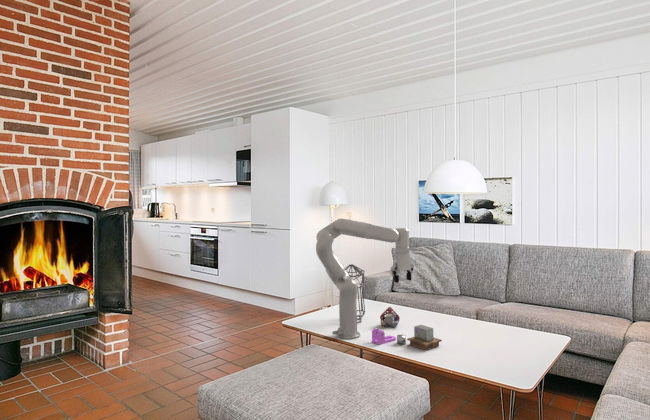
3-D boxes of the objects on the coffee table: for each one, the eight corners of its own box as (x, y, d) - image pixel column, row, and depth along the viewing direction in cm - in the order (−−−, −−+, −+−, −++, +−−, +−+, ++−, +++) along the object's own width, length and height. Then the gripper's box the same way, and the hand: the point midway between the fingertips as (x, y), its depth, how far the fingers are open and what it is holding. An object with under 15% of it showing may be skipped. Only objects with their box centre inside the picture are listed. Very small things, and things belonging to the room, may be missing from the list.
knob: (401, 345, 211) (401, 337, 211) (395, 343, 214) (395, 335, 214) (407, 343, 213) (407, 336, 213) (401, 341, 217) (401, 333, 217)
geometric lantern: (366, 324, 248) (363, 266, 248) (339, 324, 251) (337, 266, 250) (367, 317, 264) (365, 262, 263) (342, 317, 266) (340, 262, 266)
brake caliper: (400, 319, 250) (399, 306, 243) (399, 334, 242) (398, 321, 235) (381, 318, 253) (379, 305, 246) (380, 333, 245) (378, 320, 238)
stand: (425, 351, 202) (425, 344, 202) (407, 344, 212) (407, 338, 212) (441, 345, 209) (441, 339, 209) (423, 339, 219) (423, 334, 219)
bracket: (379, 345, 212) (379, 331, 212) (372, 342, 217) (371, 328, 217) (398, 340, 220) (397, 327, 220) (390, 337, 224) (390, 324, 224)
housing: (413, 338, 213) (413, 326, 213) (420, 336, 216) (420, 324, 216) (427, 342, 206) (426, 330, 206) (433, 340, 209) (433, 328, 208)
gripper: (408, 248, 241) (408, 278, 241) (386, 251, 231) (386, 282, 231) (418, 249, 235) (418, 280, 235) (395, 252, 225) (396, 284, 225)
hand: (402, 281), depth 233 cm, fingers open, 9 cm apart
